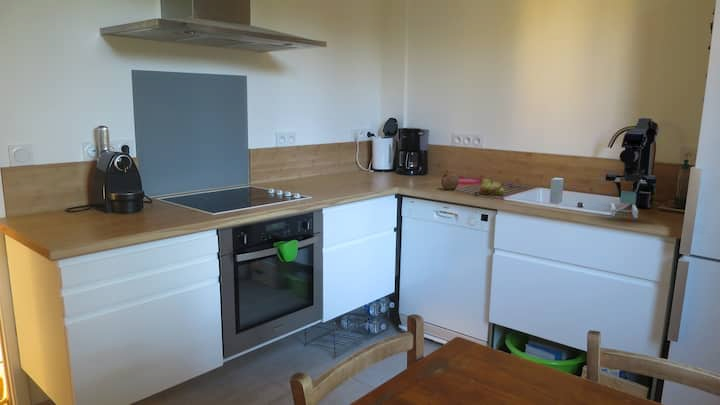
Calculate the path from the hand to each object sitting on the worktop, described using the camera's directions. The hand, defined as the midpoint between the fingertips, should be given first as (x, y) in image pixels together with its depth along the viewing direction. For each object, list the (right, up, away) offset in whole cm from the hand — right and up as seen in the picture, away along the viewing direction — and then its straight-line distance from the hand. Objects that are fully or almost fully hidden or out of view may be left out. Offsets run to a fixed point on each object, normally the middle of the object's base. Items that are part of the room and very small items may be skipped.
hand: (627, 198), depth 218 cm
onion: (-63, +5, +67) cm, 93 cm away
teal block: (0, -2, 0) cm, 2 cm away
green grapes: (-43, +2, +55) cm, 70 cm away
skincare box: (-17, -2, +35) cm, 39 cm away
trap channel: (+5, -7, +13) cm, 15 cm away
